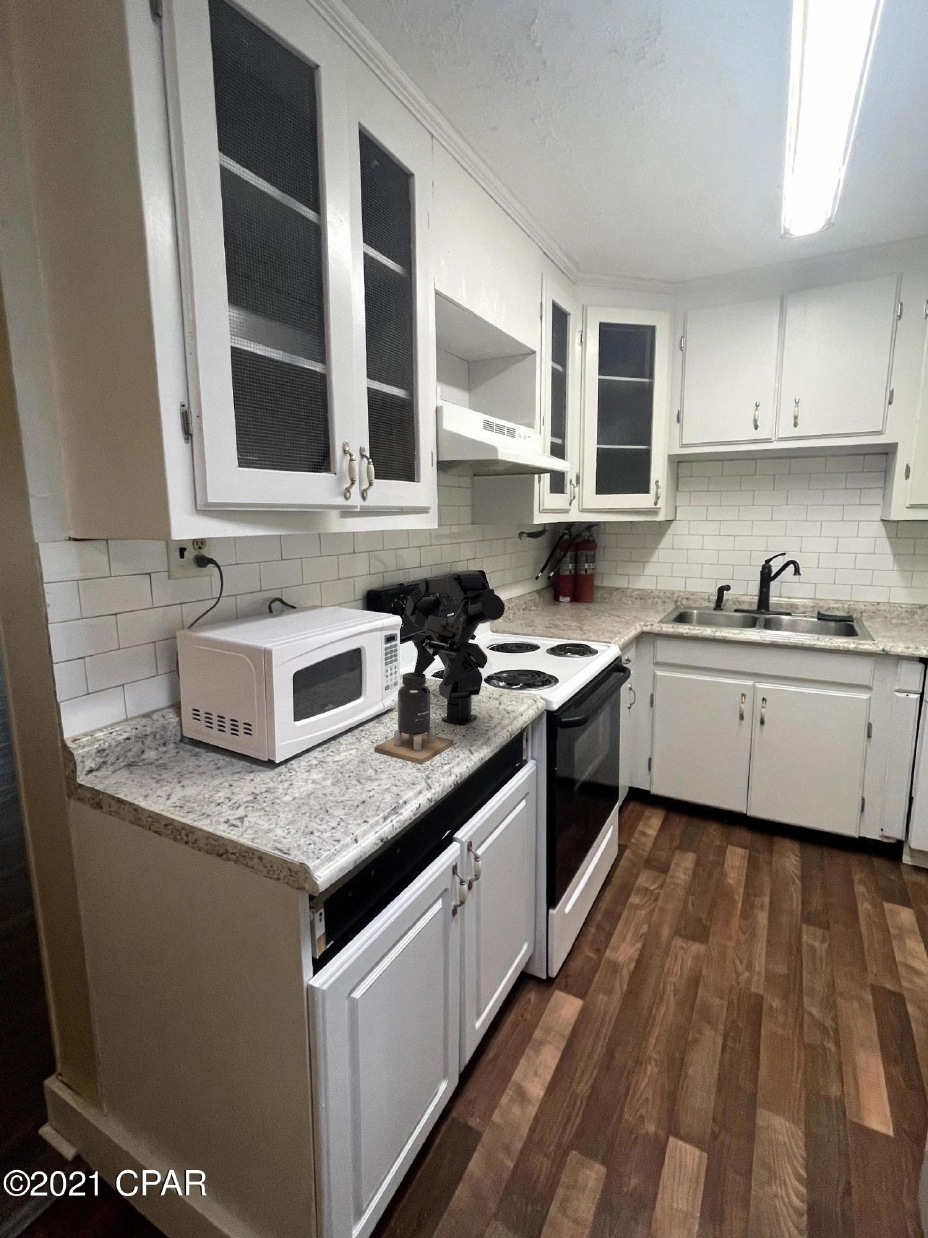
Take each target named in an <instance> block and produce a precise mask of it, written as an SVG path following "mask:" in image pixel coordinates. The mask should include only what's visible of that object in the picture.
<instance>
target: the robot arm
mask: <svg viewBox="0 0 928 1238" xmlns="http://www.w3.org/2000/svg"><path fill="white" fill-rule="evenodd" d="M481 575H482V574H481V573H480V572H479V571H463V572H453V573H451V574H448V575H447V577H442V578H441V577H425V578H423V579H421V580H420V581H419V584H418V586H417V587H416V588H415V589H414V590H413V591H412V592H411V593H410V594H409V596H408V599H407V601H406V605H405V613H406V615H407V616H408V619H409V620H410V621H411V622H412V623H413V625H414V626H417V627H419V628H420V629H423V632H418V633H415V634H414V636H413V638H412V639H411V642H412V643H413V645H414V647H415V648H416V651H417V656H416V662H415V666H414V671H413V672H419V673H425V672H426V670H427V669H428V668H429V667H430V666H431V665H432V664H433V663H434V662H435V661H436V658H435V657H437V656H438V658H439V660H440V662H441V663H442V665H443V667H444V671H443V675H442V678H443V679H442V680H441V682H440V683H439V685H438V690H439V691H438V692H439V696H441V697H443V698H444V699H446V715H445V716H443V717H442V718H441V721H443V722H447V723H453V724H457V725H461V726H466V724H469V723H470V722H472V721H474V720H475V719H477V718H478V716H477V715H475V714H472V713H473V712H472V710H473V709H472V706H473V705H472V701H473V700H472V699H473V698H472V697H473V696H478V695H480V693H481V688H482V685H483V684H482V682H483V681H484V680H483V678H484V677H483V674H482V672H481V670H480V669H482V670H483V669H484V668H485V667H486V664H487V663H488V655H487V653H485V652H484V650H483V649H482V647H481V646H480V645H479V644H478V643H473V642H470V640H471V641H475V639H476V638H477V636H476V634H475V632H476V631H477V629H478V627H479V626H480V624H481V625H482V624H487V623H491V622H494V621H497V620H500V619H501V618H502V617H503V616H504V614H505V610H506V607H505V606H506V605H505V602H504V601H503V599H502V598H501V597H500V596H499V595H497V594H496V593H495V589H494V588H490V587H489V586H488V584H487V582H486V581H485V578H483V576H481ZM429 594H430V595H431V594H435V596H434V597H433V596H429V597H426V595H429ZM442 594H448V595H447V596H449V597H452V598H453V599H457V600H458V601H463V602H462V604H460V606H459V609H458V611H456V613H455V615H454V616H451V615H450V616H449V617H448V618H445V617H440V616H441V611H442V606H443V604H444V602H443V601H444V600H443V598H442V596H441V595H442Z"/></svg>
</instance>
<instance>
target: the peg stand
mask: <svg viewBox="0 0 928 1238" xmlns="http://www.w3.org/2000/svg"><path fill="white" fill-rule="evenodd" d="M454 742H455V741H454V739H450V738H447V737H443V736H439V735H438V736H437V735H436V730H435V727H431V726H430V729H429V730H428V731H427V732H426V733H423V734H417V735H409V734H404V733H402V732H400V731H399V729H396V730H394V731H393V737H391V738H390V739H388V740H385V741H384V742H382V743H380V744H378V745H376V746H374V752H375V753H379V754H382V755H385V756H389V757H393V758H396V759H401V760H404V761H408V762H412V763H415V762H416V763H415V764H420V765H423V764H425V763H426V762H428V761H429V759H430V760H431V759H432V758H434V757H436V756H438V755H439V754H441V753H442V752H444V751H445V749H446V750H447V749H449V748H450V747H453V746H454V744H455V743H454ZM437 754H438V755H437ZM424 762H425V763H424Z"/></svg>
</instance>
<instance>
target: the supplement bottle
mask: <svg viewBox="0 0 928 1238" xmlns="http://www.w3.org/2000/svg"><path fill="white" fill-rule="evenodd" d="M426 683H427V679H426V674H425V672H423V673H419V672H414V671H412V672H406V673H403V674H402V686H401V687H400V688H399V689H398V690H397V730H399V731H400V732H402V733H404V734H409V735H417V734H423V733H425V734H427V731H428V730H429V729H430V727H431V690H430V688H429V687H428V686H426V685H427V684H426Z"/></svg>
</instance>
